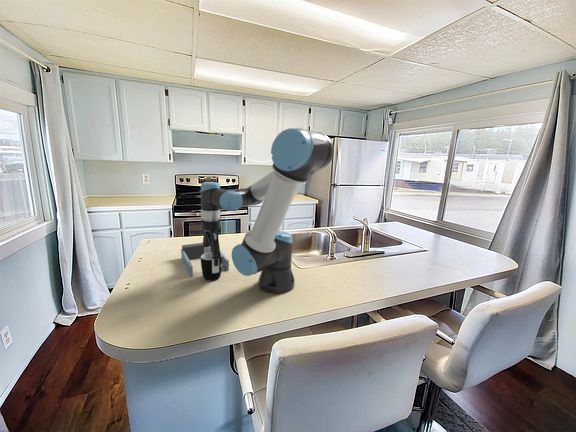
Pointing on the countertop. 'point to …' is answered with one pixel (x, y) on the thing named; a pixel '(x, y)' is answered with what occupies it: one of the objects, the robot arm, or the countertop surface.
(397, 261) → the countertop surface
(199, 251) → the trap block
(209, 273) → the mug
